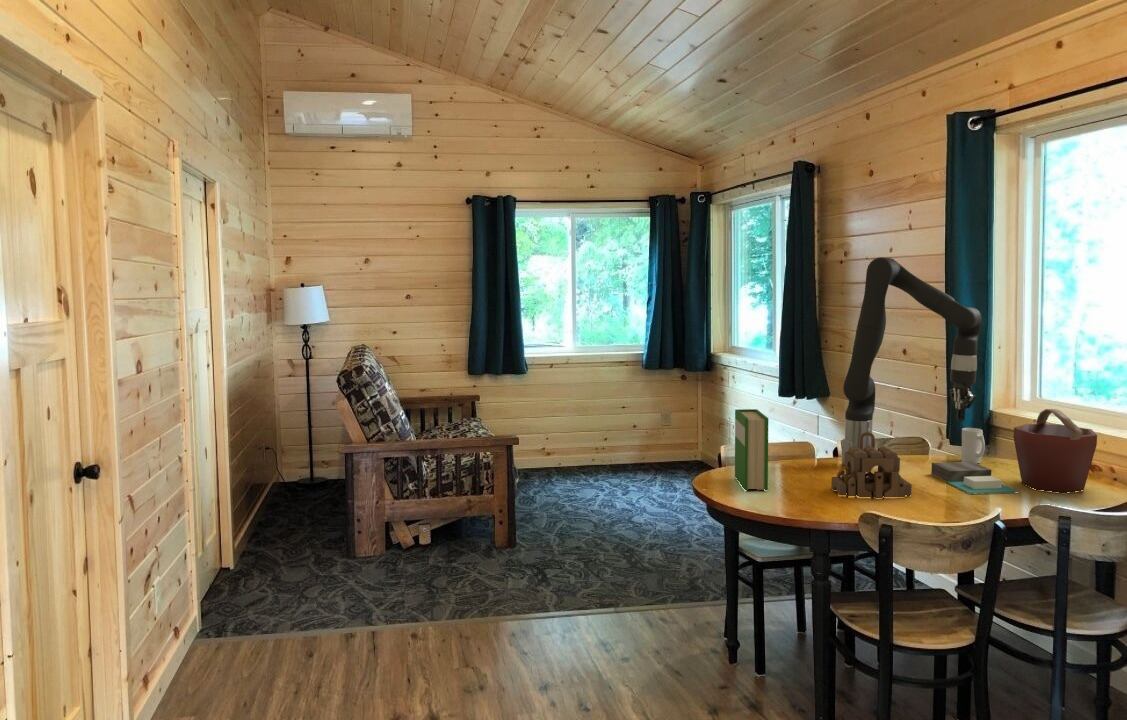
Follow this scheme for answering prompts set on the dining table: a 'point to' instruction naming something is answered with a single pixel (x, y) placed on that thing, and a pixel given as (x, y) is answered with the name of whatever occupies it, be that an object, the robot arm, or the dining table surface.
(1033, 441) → the bucket
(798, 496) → the dining table surface
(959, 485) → the mat
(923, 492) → the dining table surface
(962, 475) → the block
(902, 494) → the wooden puzzle
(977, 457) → the mug
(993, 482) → the tile
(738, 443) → the hardback book
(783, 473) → the dining table surface
